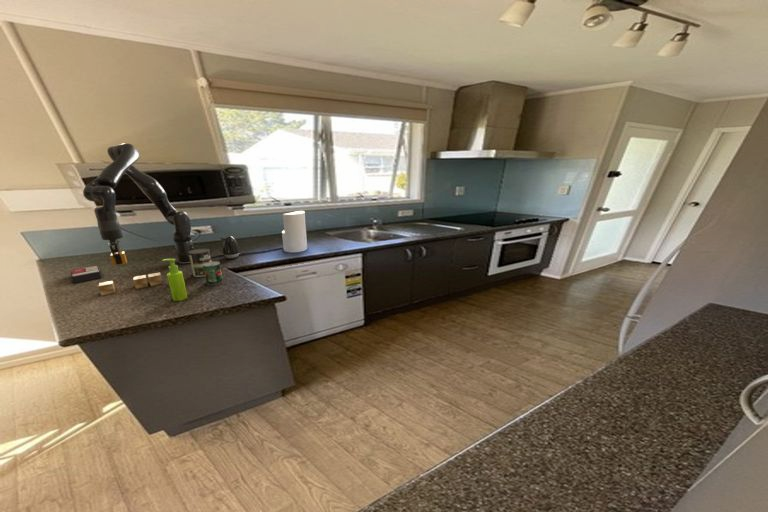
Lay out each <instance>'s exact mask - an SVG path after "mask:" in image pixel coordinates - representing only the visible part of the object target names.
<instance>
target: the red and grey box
mask: <svg viewBox="0 0 768 512" xmlns="http://www.w3.org/2000/svg"><path fill="white" fill-rule="evenodd" d="M70 278H71V280H72V283H73V284H77V283H83V282H87V281H91V280H97V279H102V278H103V277H102V273H101V270H100V268H99V266H97V265H94V266H88V267H82V268H77V269H71V271H70Z"/></svg>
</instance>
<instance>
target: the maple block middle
mask: <svg viewBox="0 0 768 512" xmlns="http://www.w3.org/2000/svg"><path fill="white" fill-rule="evenodd" d="M132 281H133V283H134V287H135V289H137V290H138V289H143V288H147V287H149V280H148V276H147V275H146V274H143V275H136V276H133V279H132Z"/></svg>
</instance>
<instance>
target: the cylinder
mask: <svg viewBox="0 0 768 512" xmlns="http://www.w3.org/2000/svg"><path fill="white" fill-rule="evenodd" d="M282 221H283V230H281V238H282V247H283V248H282V249H283V251H284V252H285V253H301V252H304V251H306V250H308V239H307V227H306V226H307V224H306V212H305V210H297V211H293V212H287V213H282Z"/></svg>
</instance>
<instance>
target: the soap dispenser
mask: <svg viewBox="0 0 768 512" xmlns="http://www.w3.org/2000/svg"><path fill="white" fill-rule="evenodd" d="M175 261H177V259H176V258H164V259H162V260H161V262H169V266H168V271H169V272H167V273H166V277H167V282H168V285H169V289H170V294H171V298H172V301H174V302H181V301H184V300H186V299H188V298H189V297H188V292H187V288H186V283H185V278H184V273H183V271H182V270H179V266H178V264H175Z"/></svg>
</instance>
